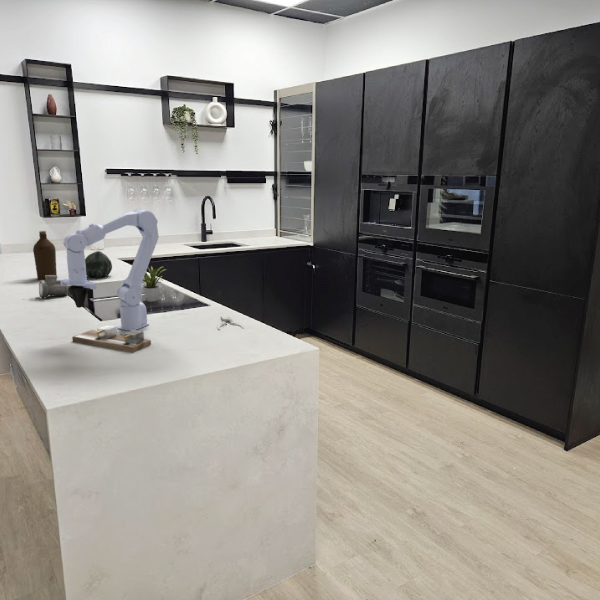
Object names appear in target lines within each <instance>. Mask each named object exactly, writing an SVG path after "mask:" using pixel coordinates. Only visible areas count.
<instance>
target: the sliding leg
mask: <svg viewBox="0 0 600 600" xmlns="http://www.w3.org/2000/svg"><path fill="white" fill-rule="evenodd" d="M116 327H117V326H114V325H104V326H101V327H98V328H97V329H96V331H97V332H96V334H97V338H99V337H100V338H106V339H107V338H110V337H112V336H115V335H116V334H117V328H116Z"/></svg>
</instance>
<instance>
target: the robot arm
mask: <svg viewBox="0 0 600 600" xmlns="http://www.w3.org/2000/svg"><path fill="white" fill-rule="evenodd" d="M126 226H131V227H132V226H133V227H135V228H136V229H138V231H139V233H140V234H141V236H142V239H141V241H140V243H139V246H138V250H137V253H136V255H135V257H134V260H133V263H132V265H131V268H130V271H129V273H128V276H127V277H125V279H124V280H123V282H122V284H121V286H119V287H118V289H117V292H116V294H117V297H118V299H120V302H119V312H120V314H119V315H120V325H117V326H115V327H116V330H117V329H118V330H125V331H128V332H130V331H133V330H137V331H138V330H139V329H142V328H143V327H147V326H149V325H150V323H149V322H148V315H147V312H148V311H147V307H146V305H145V304H144V302H142V299H143V294H142V292H143V290H144V289H143V287H144V286H143V283H142V282H143V281H142V280H143V278H144V275H145V272H146V273H147V270H148V268H149V267H148V266H149V264H150V261H151V258H152V256H153V253H154V251H155V248H156V246H157V244H158V240H159V230H158V219H157V218H156V216H155V214H154V213H153V212H152V211H149V210H143V209H140V208H138V209H134V210H132V211H131V210H130V211H128V212H126V213H124V214H122V215H120V216H118V217H116V218H113V219H112V220H109V221H108V222H106V223H103V224H99V223H89V224H88V227H86V228H84V229H81V230H80V229H78V230H76V231H75V233H69V234H67V235H66V236H65V237H64V240H63V246H64V247H65V248H66V263H67V265H66V266H67V271H68V273H67V275H68V278H63V279H59V280H60V282H61V285H68V287H69V288H68V291H69V292H68V293H70V295H71V297H72V300H73V301H74V304H75V307H76V308H78V309H80V308H83V307H84V306H85V302H86V298H87V294H88V293H89V290H95V289H97V282H93V281H90V280H87V279H88V278H87V277H88V276H87V275H86V265H85V258H86V255H85V249H86V247H89V246H91V245H93V244H97V243H98V242H100V241H102V240H104V239H105V237H106V235H107V234H109V233H111V232H114V231H116V230H117V231H118V230H119V229H121V228H124V227H126ZM147 267H148V268H147Z"/></svg>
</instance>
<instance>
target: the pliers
mask: <svg viewBox="0 0 600 600" xmlns="http://www.w3.org/2000/svg"><path fill="white" fill-rule="evenodd" d="M220 320H221V321H222V322H220V323H218V324H217V326H216V328H217V330H218V331H220V330H221V327H225V326H227V325H228V323H229V322H230V323H229V325H231V326H239V327H240V328H241V329H244V328H245V327H244V325H243V324H242V323H240V322H238V321H234V320H233V319H232V318H231V316H230V315H227V317H226V316H223V315H220ZM225 322H226V323H225ZM226 324H227V325H226ZM224 325H225V326H224ZM220 326H221V327H220Z"/></svg>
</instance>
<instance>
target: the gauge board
mask: <svg viewBox="0 0 600 600" xmlns="http://www.w3.org/2000/svg"><path fill="white" fill-rule="evenodd" d="M96 332H97V330H94V329H90V330H87V331H85V332H82V333H80V334H79V333H78V334H77V335H74V336H72V342H77V343H82V344H87V345H92V346H97V347H103V348H107V349H113V350H119V351H125V352H131V353H134V352H137V351H139V350H141V349H143V348H146V347H148V346H150V345H151V344H152V340H151V339H147V338H145V335H144V331H141V330H138V329H137V330H133V331H128V332H126V333H124V335H123V334H119V333H118V334H117V333H116V335H115V336H112V337H110V338H107V339H106V338H100V337H99V338H97V334H96Z"/></svg>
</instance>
